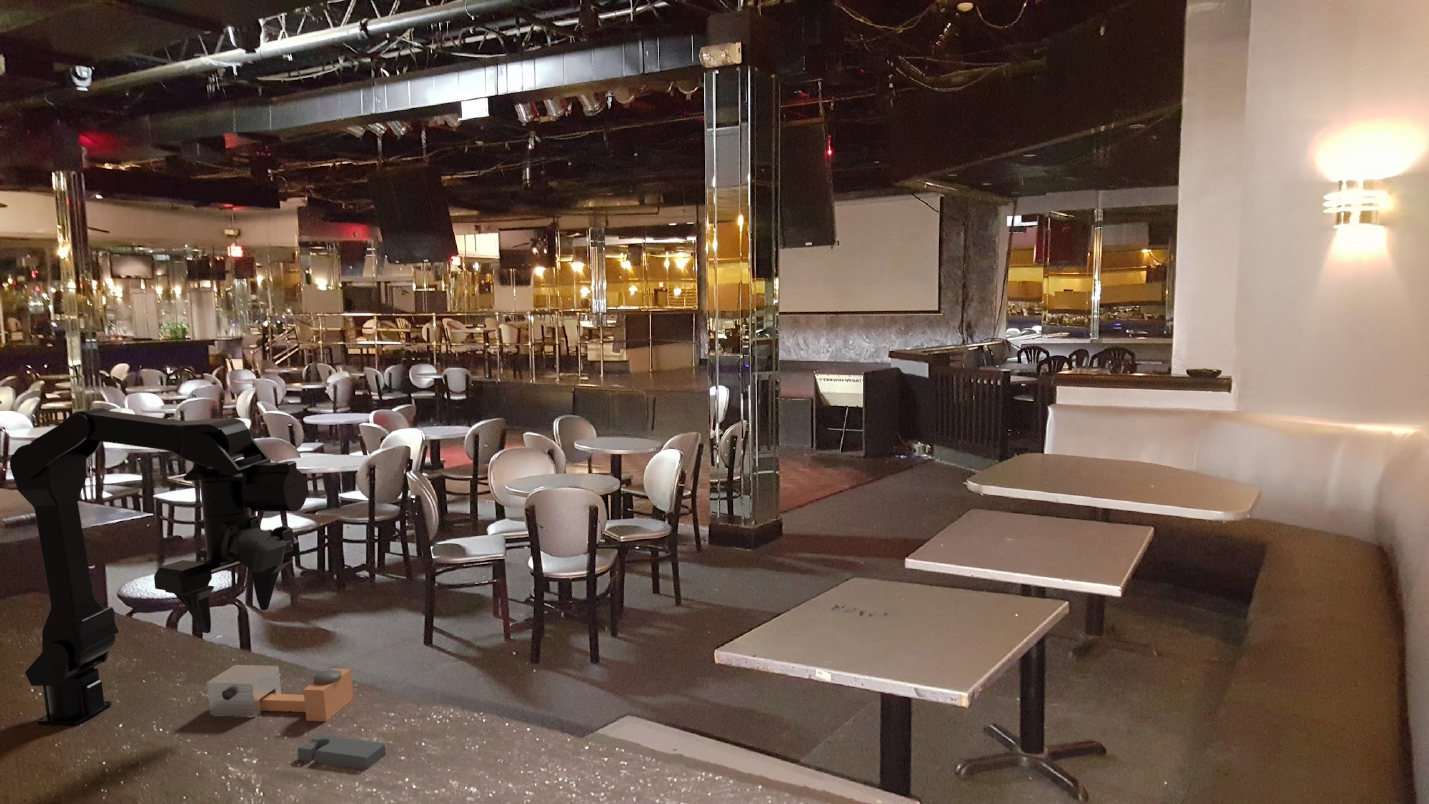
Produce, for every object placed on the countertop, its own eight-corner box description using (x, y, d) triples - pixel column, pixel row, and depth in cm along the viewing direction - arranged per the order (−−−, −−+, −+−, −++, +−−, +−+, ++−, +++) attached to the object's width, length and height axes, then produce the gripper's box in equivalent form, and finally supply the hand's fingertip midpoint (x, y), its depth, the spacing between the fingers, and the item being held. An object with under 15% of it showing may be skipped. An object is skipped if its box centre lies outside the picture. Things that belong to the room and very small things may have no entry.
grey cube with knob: (206, 719, 127) (202, 685, 127) (238, 697, 134) (234, 664, 133) (252, 720, 126) (248, 686, 126) (281, 698, 133) (278, 666, 132)
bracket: (366, 773, 112) (365, 758, 111) (297, 763, 115) (295, 748, 114) (387, 757, 115) (385, 742, 115) (319, 748, 118) (317, 733, 118)
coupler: (240, 718, 127) (236, 683, 126) (271, 696, 134) (268, 663, 133) (328, 721, 125) (325, 686, 124) (355, 698, 132) (352, 665, 131)
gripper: (207, 533, 113) (218, 654, 114) (324, 500, 130) (332, 605, 132) (146, 526, 117) (157, 642, 119) (267, 495, 134) (275, 597, 136)
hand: (236, 620), depth 126 cm, fingers open, 9 cm apart
